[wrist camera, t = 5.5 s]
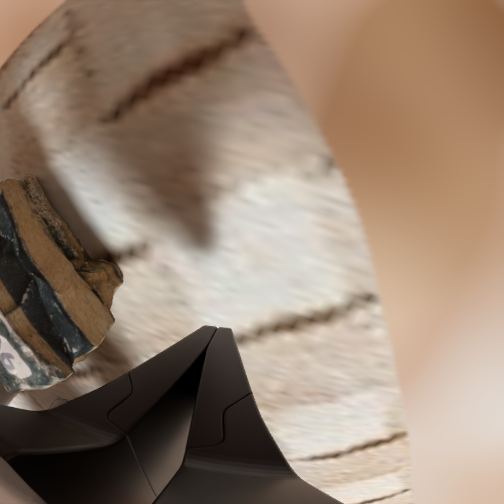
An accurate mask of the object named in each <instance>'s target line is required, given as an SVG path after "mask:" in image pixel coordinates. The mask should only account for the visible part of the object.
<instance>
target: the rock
mask: <svg viewBox="0 0 504 504" xmlns="http://www.w3.org/2000/svg"><path fill="white" fill-rule="evenodd" d="M122 283H123V279H122V276H121V273H120V270H119V268H118V267H117V265H115V264H114V263H111V262H108V261H105V260H100V259H99V260H97V261H94V260H93V259H92V258H90V256H89V255H88V253H87V252H86V251H85V250H84V248H83V247H82V246H81V244H80V241H79V239H77V238H76V237H74V236H73V234H72V233H71V231H70V229H69V226H68V225H67V224H66V223H65V222H64V220H63V219H62V218H61V217H60V216H59V214H58V213H57V212H56V211H55V210H54V209H53V208H52V207H51V205H50V203H49V202H48V200H47V197H46V195H45V194H44V191H43V188H42V187H41V185H40V184H39V182H38V180H37V178H35V177H34V176H33V175H30V174H28V176H27V175H26V176H25V177H24V178H23V179H22V180H21V181H17V180H11V179H7V180H5V181H3V182H0V381H1V382H2V384H3V385H4V387H5V389H6V390H7V391H8V392H10V393H18V392H20V391H25V390H36V389H39V390H42V389H46V388H49V387H51V386H53V385H55V384H57V383H59V382H61V381H63V380H65V379H67V378H68V377H69V376H70V375H72V374H73V373H74V370H73V368H72V366H73V365H75V364H76V363H77V362H80V361H83V360H84V359H86V358H87V355H88V353H89V352H91V351H92V350H94V349H96V348H97V347H98V346H99V345H100V344H101V342H102V341H103V339H104V337H105V335H106V334H107V332H108V330H109V329H110V328H111V326H112V325H113V323H114V322H115V318H114V317H113V315H112V313H111V311H110V309H111V305H112V300H113V295H114V293H115V292H116V290H117V289H118V288H119V287H120V286H121V284H122Z"/></svg>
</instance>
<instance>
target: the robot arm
mask: <svg viewBox="0 0 504 504" xmlns="http://www.w3.org/2000/svg"><path fill="white" fill-rule="evenodd" d="M0 504H344V503H342V502H340V501H338V500H336V499H334V498H333V497H331V496H329V495H327V494H325V493H324V492H322V491H320V490H319V489H317V488H315V487H314V486H312V485H310V484H309V483H307V482H305V481H304V480H302V479H301V478H300V477H299V476H298V475H297V474H296V473H295V472H294V470H293V469H292V468H291V466H290V465H289V463H288V462H287V460H286V459H285V457H284V455H283V454H282V452H281V450H280V449H279V447H278V445H277V444H276V442H275V440H274V439H273V437H272V435H271V434H270V432H269V430H268V428H267V427H266V425H265V423H264V421H263V419H262V417H261V414H260V412H259V409H258V407H257V404H256V402H255V399H254V396H253V393H252V390H251V387H250V384H249V381H248V378H247V375H246V372H245V369H244V366H243V363H242V360H241V357H240V354H239V351H238V347H237V344H236V341H235V338H234V335H233V332H232V329H231V328H223V327H219V328H217V327H215V326H206V325H205V326H202V327H201V328H199V329H198V330H196V331H195V332H193V333H191V334H190V335H188V336H187V337H185V338H183V339H182V340H180V341H179V342H177V343H175V344H174V345H172V346H170V347H169V348H167V349H166V350H164V351H162V352H161V353H159V354H157V355H156V356H154V357H152V358H151V359H149V360H147V361H146V362H144V363H142V364H141V365H139V366H137V367H136V368H134V369H132V370H131V371H129V372H128V373H126V374H124V375H122V376H120V377H119V378H117V379H115V380H113V381H112V382H110V383H108V384H106V385H104V386H102V387H100V388H98V389H96V390H94V391H92V392H90V393H87V394H85V395H83V396H80V397H78V398H76V399H74V400H71V401H69V402H67V403H64V404H62V405H59V406H57V407H54V408H52V409H48V410H43V411H30V410H24V409H19V408H14V407H10V406H5V405H1V404H0Z"/></svg>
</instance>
